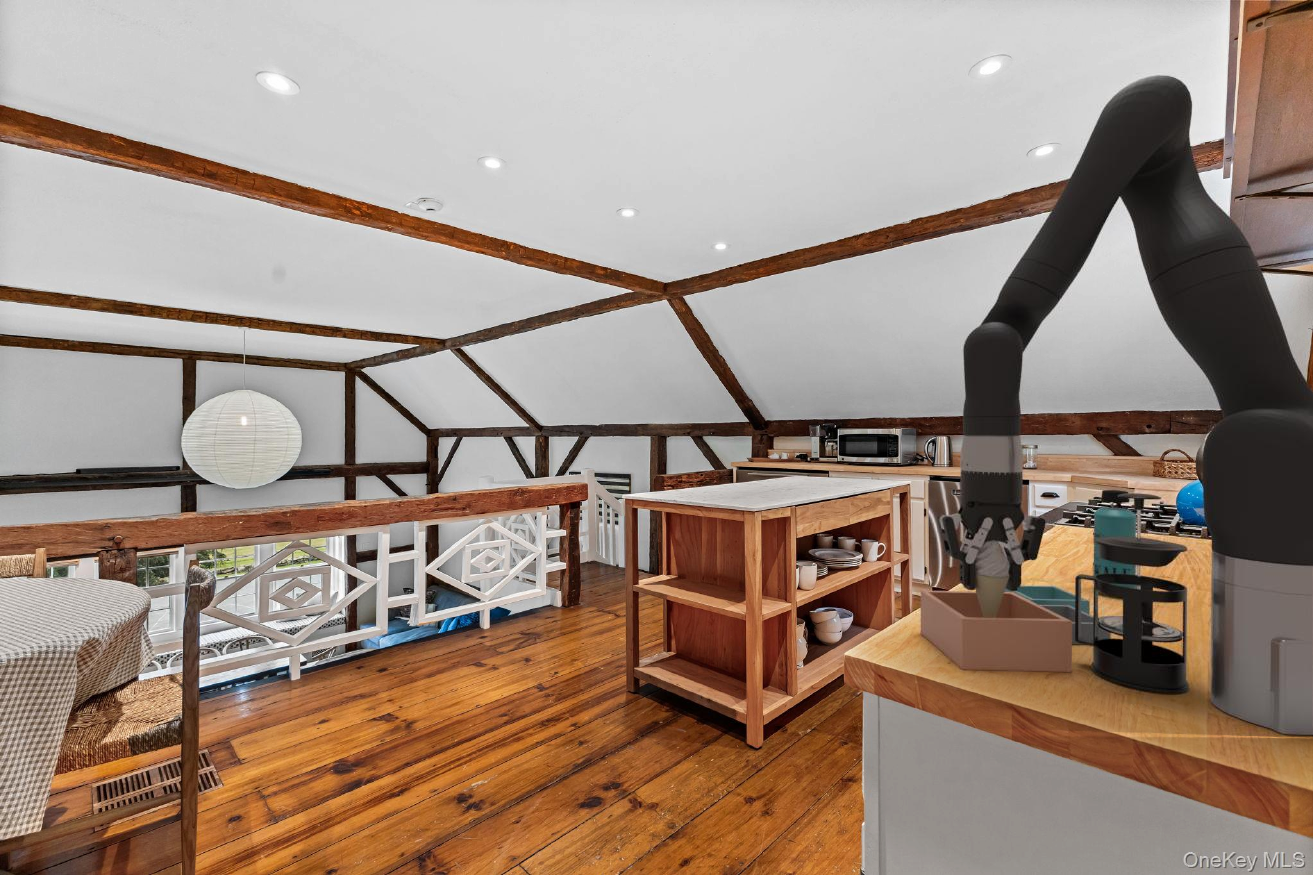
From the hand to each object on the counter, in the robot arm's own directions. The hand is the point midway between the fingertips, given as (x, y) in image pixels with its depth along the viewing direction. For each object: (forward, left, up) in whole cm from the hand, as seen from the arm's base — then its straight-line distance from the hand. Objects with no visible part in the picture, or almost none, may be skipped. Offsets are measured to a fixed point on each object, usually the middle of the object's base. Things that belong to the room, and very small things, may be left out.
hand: (990, 588), depth 81 cm
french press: (-8, -14, -9) cm, 18 cm away
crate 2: (+8, -14, -9) cm, 18 cm away
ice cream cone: (0, 0, -6) cm, 6 cm away
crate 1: (+20, -19, -9) cm, 29 cm away
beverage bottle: (+29, -37, -9) cm, 48 cm away
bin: (0, 0, -9) cm, 9 cm away
